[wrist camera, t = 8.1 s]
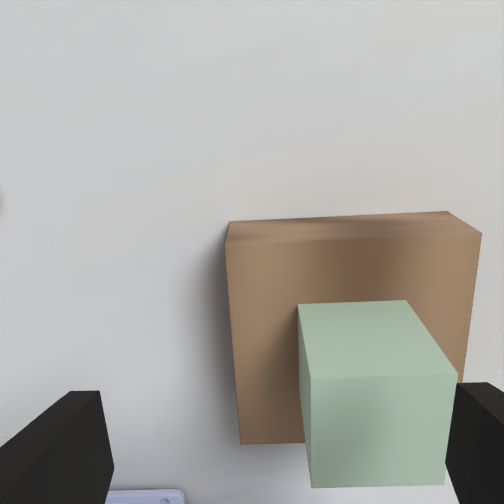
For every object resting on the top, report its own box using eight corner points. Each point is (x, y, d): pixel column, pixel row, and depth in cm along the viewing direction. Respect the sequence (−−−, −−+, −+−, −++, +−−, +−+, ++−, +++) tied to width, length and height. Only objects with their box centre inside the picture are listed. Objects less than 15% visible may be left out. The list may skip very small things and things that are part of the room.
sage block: (299, 393, 18) (311, 488, 13) (297, 304, 16) (310, 378, 12) (399, 389, 17) (443, 484, 13) (406, 300, 16) (458, 374, 12)
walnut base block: (243, 398, 21) (240, 444, 19) (230, 221, 18) (224, 244, 15) (428, 392, 21) (455, 438, 18) (447, 211, 18) (481, 233, 15)
